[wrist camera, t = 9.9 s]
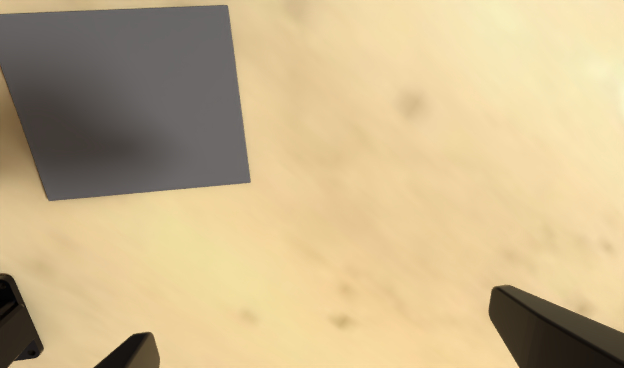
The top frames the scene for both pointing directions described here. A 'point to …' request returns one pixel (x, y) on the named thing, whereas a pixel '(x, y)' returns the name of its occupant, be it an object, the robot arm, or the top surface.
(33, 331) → the robot arm
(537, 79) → the top surface
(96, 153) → the mat
